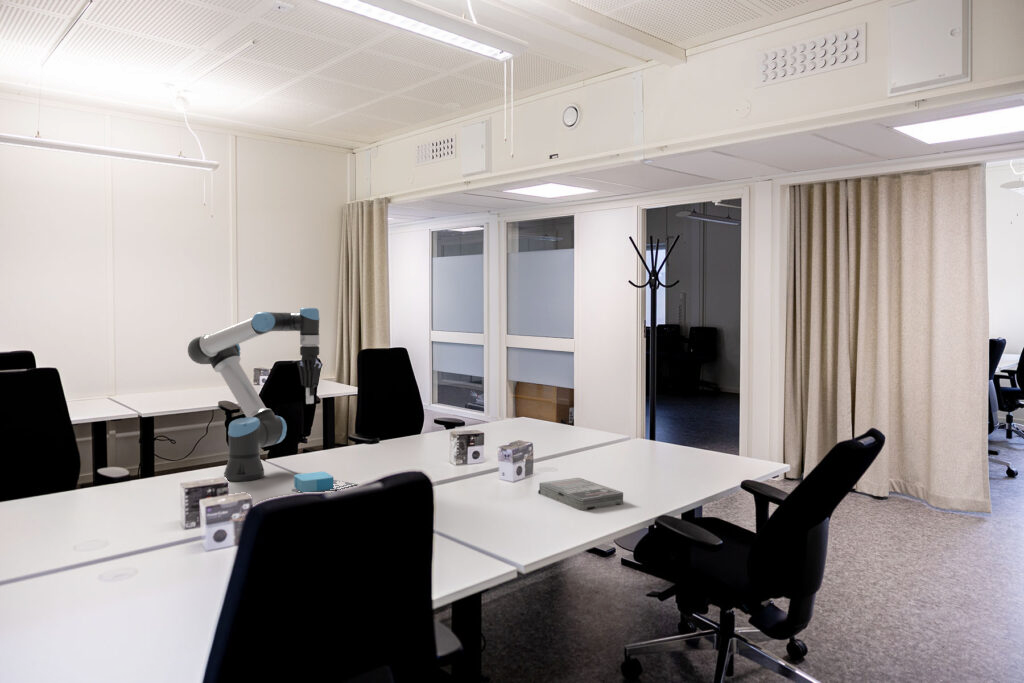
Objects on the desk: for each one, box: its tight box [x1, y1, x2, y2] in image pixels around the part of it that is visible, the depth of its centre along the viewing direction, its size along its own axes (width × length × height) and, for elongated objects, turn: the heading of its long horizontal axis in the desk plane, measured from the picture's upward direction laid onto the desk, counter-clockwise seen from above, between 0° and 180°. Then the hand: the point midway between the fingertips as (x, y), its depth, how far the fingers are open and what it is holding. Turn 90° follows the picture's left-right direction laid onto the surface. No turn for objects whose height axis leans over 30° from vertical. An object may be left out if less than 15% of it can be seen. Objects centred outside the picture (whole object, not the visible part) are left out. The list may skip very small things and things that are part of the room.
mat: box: [291, 479, 359, 494], centre depth 259 cm, size 14×20×1 cm
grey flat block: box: [538, 477, 624, 512], centre depth 247 cm, size 18×27×4 cm
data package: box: [293, 471, 334, 492], centre depth 258 cm, size 12×4×12 cm
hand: (309, 403), depth 280 cm, fingers closed
